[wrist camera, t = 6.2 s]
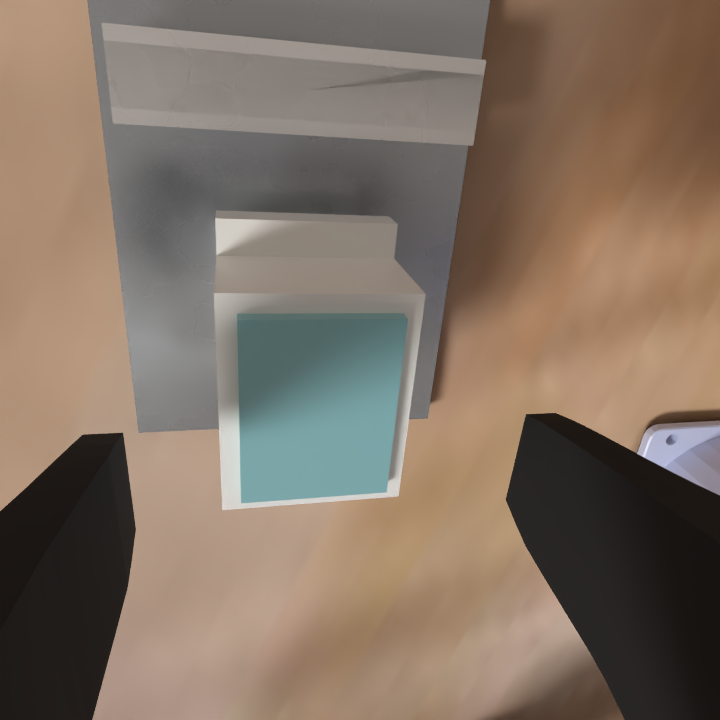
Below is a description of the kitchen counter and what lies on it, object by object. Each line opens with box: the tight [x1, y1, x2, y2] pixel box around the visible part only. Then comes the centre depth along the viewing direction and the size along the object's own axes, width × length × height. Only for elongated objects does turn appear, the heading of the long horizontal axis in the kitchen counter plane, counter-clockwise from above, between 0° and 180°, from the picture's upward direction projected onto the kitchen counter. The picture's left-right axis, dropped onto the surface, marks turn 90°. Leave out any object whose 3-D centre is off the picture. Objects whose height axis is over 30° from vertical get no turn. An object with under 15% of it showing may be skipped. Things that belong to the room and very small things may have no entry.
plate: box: [87, 0, 490, 433], centre depth 15 cm, size 9×12×1 cm
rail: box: [102, 23, 486, 146], centre depth 13 cm, size 8×2×2 cm, turn 85°
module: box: [214, 210, 426, 510], centre depth 13 cm, size 4×6×5 cm
